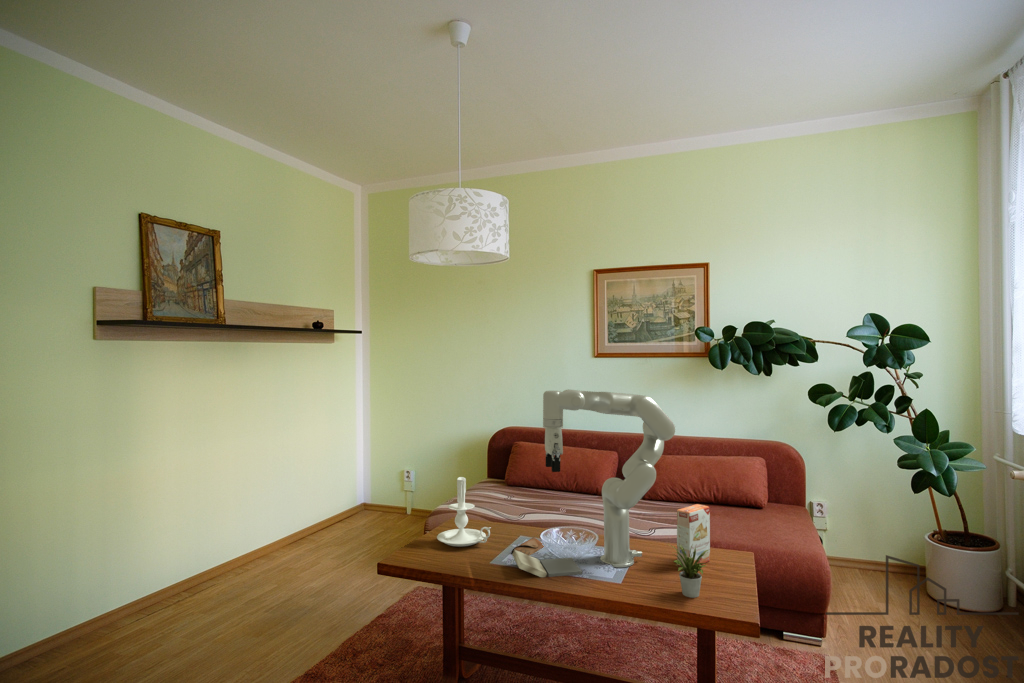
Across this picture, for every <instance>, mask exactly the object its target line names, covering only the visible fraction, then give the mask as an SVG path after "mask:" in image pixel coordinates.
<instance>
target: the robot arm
mask: <svg viewBox="0 0 1024 683" xmlns="http://www.w3.org/2000/svg"><path fill="white" fill-rule="evenodd" d="M542 409H543V410H542V418H543V419H542V427H543V429H544V430H545V431H544V450H545V467H546V468H551V472H552V473H560V472H561V456H562V455H563V454H564V448H563V446H564V445H563V431H562V429H563V428H564V410H568V411H574V412H575V411H579V410H582V411H590V412H594V413H595V412H596V413H599V414H603V415H604V414H605V415H613V416H614V415H615V416H616V415H617V416H625V417H626V416H627V417H629V416H630V417H637V418H640V419H641V420H642V422H643V423H642V431H643V441H642V442H641V445H639V447H638V448H637V450H636V451H635V452H633V454H632V455H631V456H630V457H629V459H628V460H626V461H625V463H624V464H623V466H622V469H621V472H622V474H623V477H624V479H621V478H619V477H610V478H608V479H606V480H605V481H604V483H603V485H602V487H601V497H602V498H601V500H602V507H603V543H604V544H603V546H604V547H603V548H604V549H603V550H604V554H603V555H601V556H600V558H599V560H600V561H602V563H605V564H608V565H610V566H612V567H613V568H627V567H631V566H633V565H634V564H635V559H634V558H637V557H640V558H641V557H642V556H643V552H642V551H641V550H640V551H639V550H636V549H631V548H630V512H629V511H630V509H632V508H633V507H634V506H636V505H637V504H638V503H639V502H640V500H642V499H643V497H644V496H645V495H646V494H647V492H648V491H649V490H650V489H651V488H652V487H653V486H654V484H655V482H656V481H657V480H656V479H657V470H656V468H655V466H656V464H657V463H658V461H659V460H660V458H661V457H662V456H663V453H664V449H665V442H666V441H669V440H672V439H673V437H674V435H675V433H676V426H675V424H674V422H673V420H672V419H671V418H670V417H669V416H668V415H667V413H665V412H664V410H663V409H662V408H661V407H660V405H659V404H658V403H657V402H656V401H655V400H654V399H653V398H652V397H650V396H648V395H641V394H633V393H623V392H611V391H590V390H578V389H568V388H567V389H565V390H563V391H561V390H546V391H544V392H543V394H542Z"/></svg>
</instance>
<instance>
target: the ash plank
mask: <svg viewBox="0 0 1024 683" xmlns="http://www.w3.org/2000/svg"><path fill="white" fill-rule="evenodd" d="M512 557H513V559H514V561H515V563H516V565H517V567H518V569H520V570H523V571H525V572H527V573H530V574H532V575H535V576H537V577H539V578H546V577H549V576H548V575H547V573H546V571H545V569H544V568H543V566H542V565H541V563H540V560H539V558H536V557H533V556H532V555H527V554H524V553H522V552H519V551H517V550H514V552H513V554H512Z"/></svg>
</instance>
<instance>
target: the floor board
mask: <svg viewBox="0 0 1024 683" xmlns="http://www.w3.org/2000/svg"><path fill="white" fill-rule="evenodd" d="M539 561H540V563H541V565H542V566H543V568H544V569H545V571H546V573H547V575H548V576H547V577H549V578H551V577H565V576H575V575H577V576H578V575H583V570H582V569H581V568H580V567H579V565H578V564H577V563H576V561H575V560H574V559H573V558H572V557H562V558H548V559H546V558H545V559H540V560H539Z"/></svg>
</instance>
